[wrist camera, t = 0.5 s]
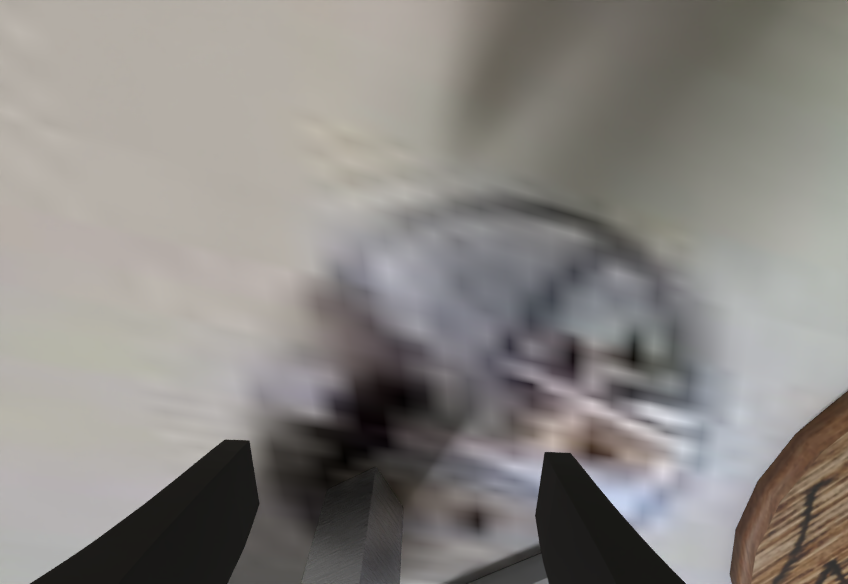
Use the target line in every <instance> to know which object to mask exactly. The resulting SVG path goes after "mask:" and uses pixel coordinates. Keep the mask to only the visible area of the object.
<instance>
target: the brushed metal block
mask: <svg viewBox="0 0 848 584" xmlns="http://www.w3.org/2000/svg"><path fill="white" fill-rule="evenodd" d="M402 523H403V506H402V505H401V504H400V502H399V501H398V499H397V498H396V496H395V495H394V493H393V492H392V490H391V489H390V487H389V486H388V484H387V483H386V481H385V480H384V478H383V477H382V475H381V474H380V472H379V471H378V469H377V468H376V467H374V468H372V469H370V470H368V471H366V472H364V473H361V474H359V475H357V476H355V477H353V478H351V479H349V480H346V481H344V482H342V483H340V484H338V485H336V486H333V487H331V488H329V489H327V493H326V496H325V500H324V503H323V507H322V510H321V514H320V517H319V521H318V525H317V528H316V532H315V535H314V539H313V542H312V546H311V550H310V553H309V557H308V560H307V564H306V567H305V571H304V574H303V578H302V582H301V584H400V566H401V544H402Z"/></svg>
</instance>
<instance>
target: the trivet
mask: <svg viewBox="0 0 848 584" xmlns="http://www.w3.org/2000/svg"><path fill="white" fill-rule="evenodd" d="M730 577H731V582H732V584H848V391H847V392H846V393H845V394H843V395H842V396H841V397H840V398H839V399H837V400H836V401H835V402H834V403H832V404H831V405H830V406H829V407H828V408H826V409H825V410H824V411H823V412H822V413H820V414H819V415H818V416H817V417H815V418H814V419H813V420H812V421H811V422H809V423H808V424H807V425H806V426H805V427H803V428H802V429H801V430H800V431H798V432H797V433H796V434H795V435H794V437H793V438H792V439H791V440H790V442H789V443H788V444H787V445H786V447H785V448H784V449H783V450H782V452H781V453H780V454H779V455H778V457H777V458H776V459H775V460H774V462H773V463H772V464H771V465H770V467H769V468H768V469H767V470H766V472H765V473H764V474H763V475H762V477H761V478H760V479H759V480H758V482H757V484H756V486H755V488H754V491H753V493H752V495H751V497H750V499H749V501H748V504H747V506H746V508H745V510H744V512H743V515H742V517H741V519H740V521H739V523H738V525H737V528H736V531H735V539H734V546H733V554H732V561H731V569H730Z"/></svg>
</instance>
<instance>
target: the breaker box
mask: <svg viewBox="0 0 848 584" xmlns="http://www.w3.org/2000/svg"><path fill="white" fill-rule="evenodd" d="M468 584H549V582H548V578H547V575H546V571H545V567H544V564H543V559H542V554H538V555H536V556H533V557H531V558H528V559H526V560H524V561H521V562H519V563H516V564H514V565H511V566H509V567H507V568H504V569H502V570H499V571H497V572H494V573H492V574H490V575H487V576H485V577H482V578H480V579H477V580H475V581H473V582H470V583H468Z"/></svg>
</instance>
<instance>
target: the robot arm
mask: <svg viewBox="0 0 848 584" xmlns="http://www.w3.org/2000/svg"><path fill="white" fill-rule="evenodd" d="M258 506H259V499H258V493H257V486H256V480H255V473H254V467H253V461H252V454H251V448H250V442H249V441H246V440H224V441H223V442H221V443H220V444H219V445H217V446H216V447H215V448H214V449H212V450H211V451H210V452H209V453H207V454H206V455H205V456H204V457H202V458H201V459H200V460H199V461H198V462H196V463H195V464H194V465H193V466H191V467H190V468H189V469H188V470H187V471H185V472H184V473H183V474H182V475H180V476H179V477H178V478H177V479H175V480H174V481H173V482H172V483H170V484H169V485H168V486H167V487H165V488H164V489H163V490H162V491H160V492H159V493H158V494H157V495H155V496H154V497H153V498H152V499H150V500H149V501H148V502H146V503H145V504H144V505H143V506H141V507H140V508H139V509H137V510H136V511H134V512H133V513H132V514H130V515H129V516H128V517H126V518H125V519H124V520H122V521H121V522H120V523H118V524H117V525H116V526H114V527H113V528H111V529H110V530H109V531H107V532H106V533H105V534H103V535H102V536H101V537H99V538H98V539H97V540H95V541H94V542H92V543H91V544H89V545H88V546H87V547H85V548H84V549H82V550H81V551H79V552H78V553H76V554H75V555H73V556H72V557H70V558H69V559H68V560H66V561H64V562H63V563H61V564H60V565H58V566H57V567H55V568H54V569H52V570H51V571H49V572H47V573H46V574H44V575H43V576H41V577H40V578H38V579H37V580H35V581H33V582H32V583H30V584H227V583H228V581H229V579H230V577H231V574H232V572H233V570H234V568H235V566H236V564H237V562H238V560H239V558H240V555H241V553H242V551H243V549H244V547H245V544H246V541H247V538H248V536H249V533H250V530H251V527H252V524H253V521H254V518H255V515H256V512H257V509H258ZM535 517H536V523H537V530H538V536H539V542H540V548H541V554H542V559H543V564H544V567H545V571H546V575H547V578H548V582H549V584H686V583H685V582H684V581H683V580H682V579H681V578H680V577H679V576H678V575H677V574H676V573H675V572H674V571H673V570H672V569H671V568H670V567H669V566H668V565H667V564H666V563H665V562H664V561H663V560H662V559H661V558H660V557H659V556H658V555H657V554H656V553H655V552H654V550H653V549H652V548H651V547H650V546H649V545H648V544H647V543H646V542H645V541H644V540H643V539H642V537H641V536H640V535H639V534H638V533H637V532H636V531H635V530H634V528H633V527H632V526H631V525H630V524H629V523H628V522H627V520H626V519H625V518H624V517H623V516H622V515H621V514H620V513H619V511H618V510H617V509H616V508H615V507H614V506H613V504H612V503H611V502H610V501H609V500H608V498H607V497H606V496H605V495H604V494H603V492H602V491H601V490H600V489H599V487H598V486H597V485H596V484H595V483H594V481H593V480H592V479H591V478H590V476H589V475H588V474H587V473H586V471H585V470H584V469H583V468H582V466H581V465H580V464H579V463H578V461H577V460H576V459H575V458H574V457H573V455H572V454H571V453H556V452H545V454H544V461H543V467H542V474H541V481H540V487H539V494H538V501H537V508H536V514H535Z"/></svg>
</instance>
